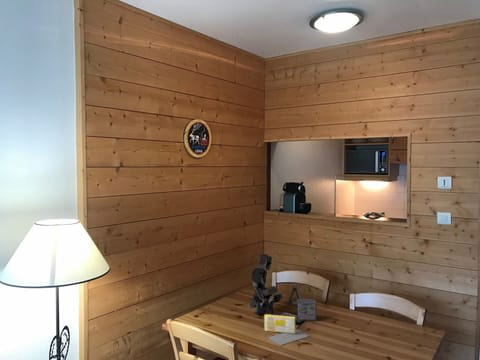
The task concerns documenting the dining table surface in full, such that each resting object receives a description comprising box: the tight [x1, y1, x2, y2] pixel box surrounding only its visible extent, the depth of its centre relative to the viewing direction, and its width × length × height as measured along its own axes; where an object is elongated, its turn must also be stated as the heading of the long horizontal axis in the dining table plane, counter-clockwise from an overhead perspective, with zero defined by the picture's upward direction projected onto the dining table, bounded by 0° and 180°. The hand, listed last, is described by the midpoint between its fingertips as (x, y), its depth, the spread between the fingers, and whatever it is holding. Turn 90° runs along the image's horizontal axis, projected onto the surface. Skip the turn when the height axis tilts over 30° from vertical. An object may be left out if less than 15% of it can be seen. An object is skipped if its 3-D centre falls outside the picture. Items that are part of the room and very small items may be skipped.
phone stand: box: [287, 283, 303, 306], centre depth 241 cm, size 9×6×12 cm, turn 72°
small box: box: [296, 298, 317, 322], centre depth 217 cm, size 11×6×10 cm, turn 84°
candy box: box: [263, 314, 296, 334], centre depth 199 cm, size 16×2×8 cm, turn 71°
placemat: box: [267, 328, 310, 347], centre depth 193 cm, size 10×19×1 cm, turn 123°
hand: (272, 315), depth 203 cm, fingers closed
